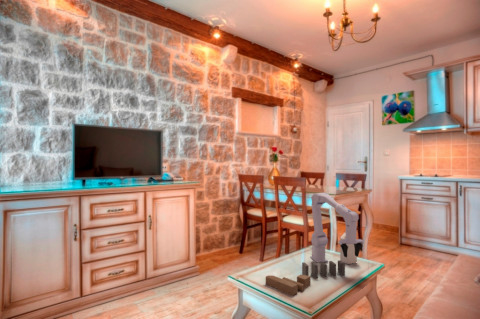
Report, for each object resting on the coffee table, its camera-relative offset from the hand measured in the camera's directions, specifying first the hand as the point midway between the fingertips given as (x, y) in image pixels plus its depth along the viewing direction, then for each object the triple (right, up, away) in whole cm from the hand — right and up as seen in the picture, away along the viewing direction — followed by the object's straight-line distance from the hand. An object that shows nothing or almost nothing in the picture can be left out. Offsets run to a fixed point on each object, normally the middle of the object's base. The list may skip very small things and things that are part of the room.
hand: (351, 256), depth 153 cm
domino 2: (-22, -10, -4) cm, 25 cm away
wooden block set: (-39, -10, -15) cm, 43 cm away
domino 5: (-6, -10, -1) cm, 12 cm away
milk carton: (+6, -10, +18) cm, 22 cm away
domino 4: (-11, -10, -2) cm, 15 cm away
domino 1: (-28, -10, -5) cm, 30 cm away
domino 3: (-17, -10, -3) cm, 20 cm away
